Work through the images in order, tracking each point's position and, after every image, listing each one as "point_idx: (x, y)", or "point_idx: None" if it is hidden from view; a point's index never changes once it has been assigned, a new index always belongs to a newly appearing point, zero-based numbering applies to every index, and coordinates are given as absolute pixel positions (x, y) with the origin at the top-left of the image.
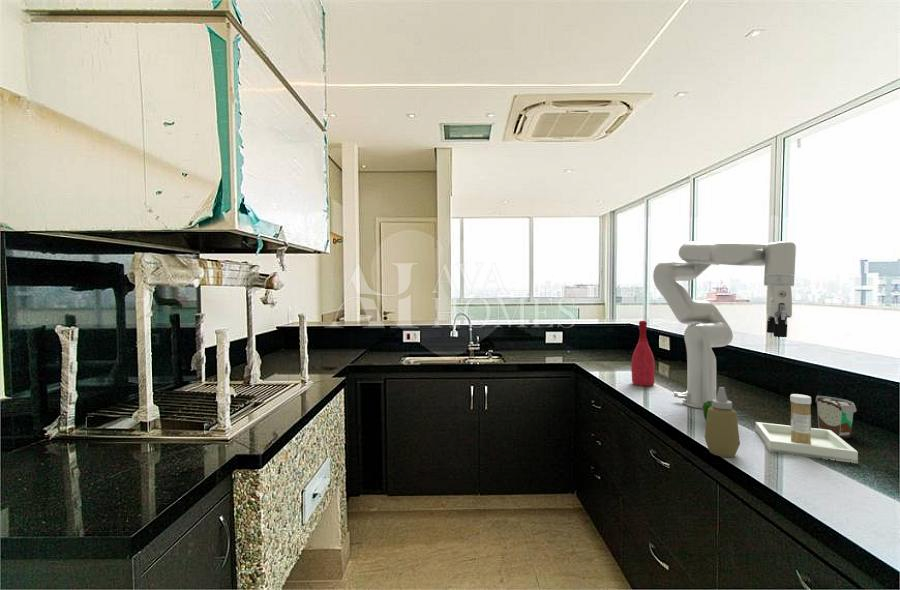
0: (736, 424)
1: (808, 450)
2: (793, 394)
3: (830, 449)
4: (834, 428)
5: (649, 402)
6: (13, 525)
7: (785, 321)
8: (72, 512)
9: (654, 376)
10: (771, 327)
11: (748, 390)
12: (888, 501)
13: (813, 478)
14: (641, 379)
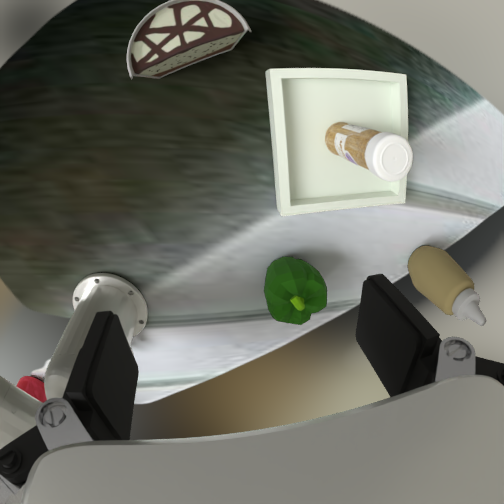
0: (460, 268)
1: None
2: (384, 173)
3: (406, 112)
4: (213, 53)
5: (162, 378)
6: None
7: (486, 360)
8: None
9: (22, 387)
10: (124, 384)
11: None
12: (491, 107)
13: (466, 162)
14: None
